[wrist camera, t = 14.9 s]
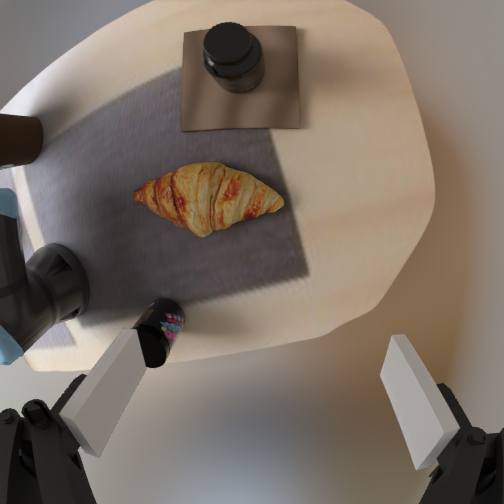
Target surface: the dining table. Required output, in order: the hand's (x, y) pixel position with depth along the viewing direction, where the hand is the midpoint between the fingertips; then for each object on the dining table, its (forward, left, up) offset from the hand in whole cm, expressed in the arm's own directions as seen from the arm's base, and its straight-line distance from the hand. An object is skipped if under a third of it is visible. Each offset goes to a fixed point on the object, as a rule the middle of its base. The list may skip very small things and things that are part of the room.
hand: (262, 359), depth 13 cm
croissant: (-9, +4, -29) cm, 31 cm away
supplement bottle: (-4, +22, -28) cm, 36 cm away
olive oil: (-45, +18, -29) cm, 56 cm away
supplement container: (-17, -15, -29) cm, 37 cm away
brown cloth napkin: (-4, +22, -29) cm, 36 cm away
